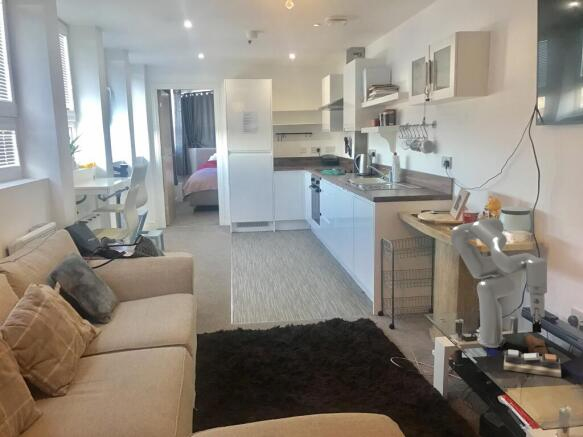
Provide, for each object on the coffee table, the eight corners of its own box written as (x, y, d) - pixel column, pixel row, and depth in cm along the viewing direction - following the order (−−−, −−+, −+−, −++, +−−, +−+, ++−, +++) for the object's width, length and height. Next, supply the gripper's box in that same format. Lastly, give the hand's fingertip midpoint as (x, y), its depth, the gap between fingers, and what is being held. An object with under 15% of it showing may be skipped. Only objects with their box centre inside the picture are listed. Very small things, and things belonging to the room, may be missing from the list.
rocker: (524, 360, 193) (523, 357, 193) (524, 355, 197) (523, 353, 197) (539, 359, 191) (538, 356, 190) (539, 355, 194) (538, 352, 194)
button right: (545, 362, 190) (545, 358, 189) (544, 358, 193) (544, 353, 193) (556, 364, 188) (556, 359, 188) (555, 359, 191) (555, 354, 191)
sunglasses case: (551, 358, 198) (542, 346, 198) (536, 365, 201) (527, 352, 201) (544, 340, 215) (536, 328, 215) (530, 346, 218) (522, 334, 218)
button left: (508, 358, 196) (507, 353, 196) (508, 353, 200) (508, 349, 199) (518, 359, 194) (518, 355, 194) (518, 355, 198) (518, 350, 198)
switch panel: (503, 369, 194) (503, 359, 193) (505, 356, 205) (505, 346, 204) (561, 377, 184) (561, 367, 184) (559, 362, 195) (559, 353, 194)
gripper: (547, 296, 178) (547, 338, 181) (546, 281, 193) (546, 320, 196) (526, 294, 181) (526, 336, 185) (526, 280, 196) (526, 319, 200)
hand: (536, 328), depth 190 cm, fingers open, 6 cm apart
